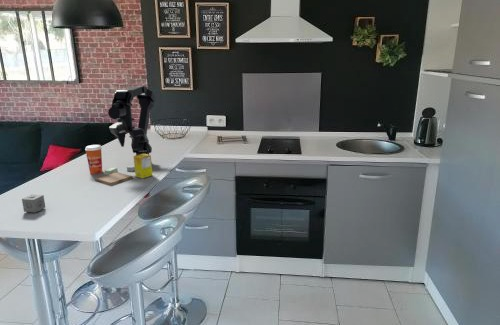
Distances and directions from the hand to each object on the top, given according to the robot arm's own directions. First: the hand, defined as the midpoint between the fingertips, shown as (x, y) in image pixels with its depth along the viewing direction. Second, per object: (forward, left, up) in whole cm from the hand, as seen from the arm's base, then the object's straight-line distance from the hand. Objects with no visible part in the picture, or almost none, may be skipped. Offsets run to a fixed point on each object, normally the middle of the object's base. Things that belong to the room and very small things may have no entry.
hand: (128, 147), depth 179 cm
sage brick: (+7, -6, -13) cm, 16 cm away
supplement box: (+1, +11, -13) cm, 17 cm away
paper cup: (+10, -14, -13) cm, 22 cm away
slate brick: (-3, -2, -13) cm, 14 cm away
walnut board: (+12, +3, -13) cm, 18 cm away
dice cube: (+51, +9, -13) cm, 53 cm away
